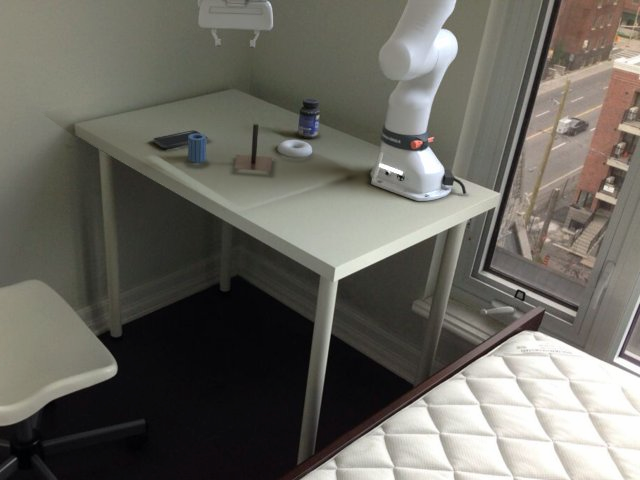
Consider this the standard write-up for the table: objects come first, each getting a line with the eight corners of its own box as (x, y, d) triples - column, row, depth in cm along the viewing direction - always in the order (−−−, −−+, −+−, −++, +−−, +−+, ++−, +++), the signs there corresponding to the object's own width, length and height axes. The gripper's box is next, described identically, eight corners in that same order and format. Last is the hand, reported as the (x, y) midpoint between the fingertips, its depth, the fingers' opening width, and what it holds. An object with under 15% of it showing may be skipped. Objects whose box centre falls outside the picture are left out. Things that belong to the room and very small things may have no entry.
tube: (208, 165, 201) (209, 137, 196) (194, 168, 198) (194, 141, 194) (198, 159, 204) (199, 132, 199) (184, 162, 201) (184, 135, 197)
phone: (151, 138, 212) (194, 129, 220) (151, 142, 213) (194, 133, 220) (165, 147, 207) (209, 138, 214) (165, 151, 207) (208, 141, 215)
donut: (274, 160, 206) (309, 163, 205) (275, 148, 205) (310, 152, 203) (280, 147, 215) (313, 151, 213) (280, 136, 213) (314, 139, 211)
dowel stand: (271, 162, 205) (274, 119, 198) (270, 176, 196) (274, 132, 190) (236, 159, 205) (238, 116, 198) (233, 173, 197) (236, 129, 190)
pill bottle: (317, 139, 221) (321, 104, 215) (297, 138, 221) (301, 103, 215) (316, 132, 226) (320, 97, 220) (297, 131, 226) (300, 96, 220)
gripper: (196, -9, 190) (196, 46, 196) (274, -6, 189) (271, 49, 195) (198, -11, 195) (198, 43, 201) (274, -8, 194) (272, 46, 201)
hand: (235, 46), depth 198 cm, fingers open, 8 cm apart
